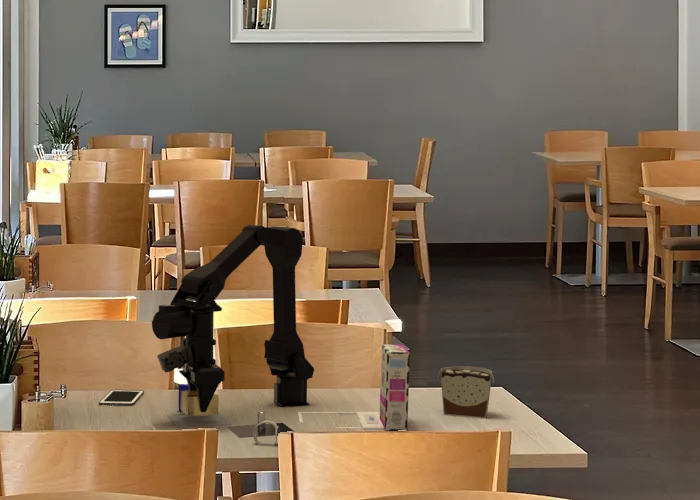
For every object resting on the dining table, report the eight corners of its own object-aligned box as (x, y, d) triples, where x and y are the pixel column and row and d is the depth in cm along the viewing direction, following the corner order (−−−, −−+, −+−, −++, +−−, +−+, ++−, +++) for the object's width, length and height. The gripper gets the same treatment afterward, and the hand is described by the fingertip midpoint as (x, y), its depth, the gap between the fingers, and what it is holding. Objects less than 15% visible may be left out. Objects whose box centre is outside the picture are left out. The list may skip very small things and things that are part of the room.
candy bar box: (409, 432, 256) (410, 352, 254) (384, 432, 255) (386, 352, 254) (402, 419, 267) (403, 343, 265) (378, 419, 266) (380, 343, 265)
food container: (498, 413, 274) (500, 368, 273) (492, 419, 269) (494, 373, 268) (444, 408, 278) (445, 364, 277) (437, 414, 273) (438, 368, 272)
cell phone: (98, 407, 276) (98, 402, 276) (111, 393, 290) (111, 389, 290) (133, 407, 276) (133, 403, 276) (144, 394, 290) (144, 390, 290)
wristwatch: (277, 449, 240) (277, 423, 240) (252, 447, 241) (252, 422, 240) (280, 445, 243) (281, 420, 242) (255, 444, 244) (255, 418, 243)
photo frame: (388, 426, 257) (300, 426, 256) (388, 431, 257) (300, 432, 256) (381, 410, 272) (298, 411, 270) (381, 416, 272) (297, 416, 270)
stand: (282, 425, 260) (282, 405, 259) (297, 436, 250) (297, 415, 250) (226, 428, 256) (226, 408, 255) (239, 440, 246) (239, 419, 246)
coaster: (218, 415, 268) (218, 412, 268) (231, 426, 257) (231, 423, 257) (167, 418, 264) (167, 415, 264) (178, 430, 254) (178, 427, 254)
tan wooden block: (180, 409, 262) (180, 390, 262) (210, 407, 265) (210, 389, 264) (187, 416, 256) (187, 397, 256) (218, 414, 259) (218, 395, 258)
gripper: (151, 329, 265) (151, 401, 266) (170, 343, 248) (170, 420, 249) (203, 326, 269) (203, 398, 270) (225, 340, 251) (225, 417, 253)
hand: (199, 408), depth 260 cm, fingers closed on tan wooden block, 6 cm apart
